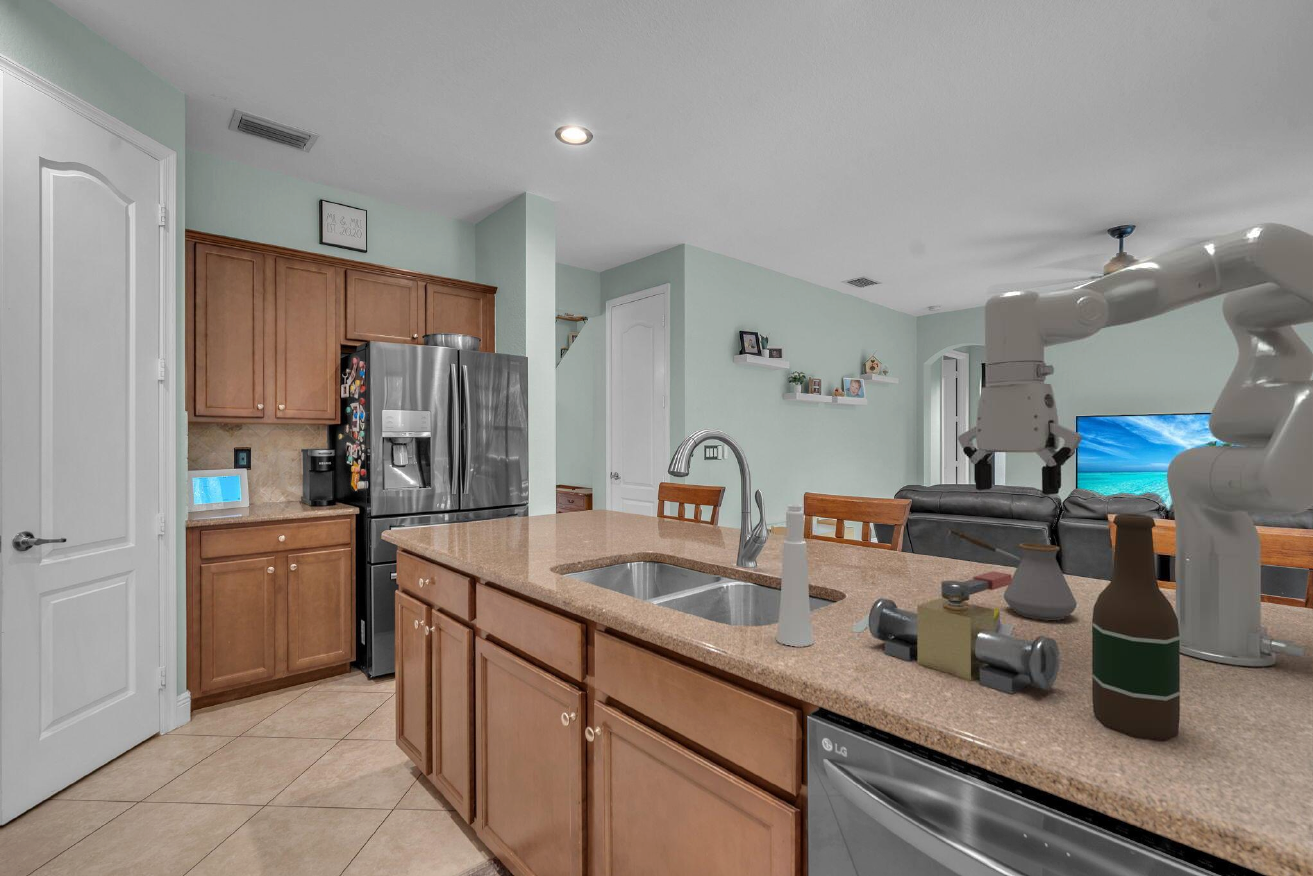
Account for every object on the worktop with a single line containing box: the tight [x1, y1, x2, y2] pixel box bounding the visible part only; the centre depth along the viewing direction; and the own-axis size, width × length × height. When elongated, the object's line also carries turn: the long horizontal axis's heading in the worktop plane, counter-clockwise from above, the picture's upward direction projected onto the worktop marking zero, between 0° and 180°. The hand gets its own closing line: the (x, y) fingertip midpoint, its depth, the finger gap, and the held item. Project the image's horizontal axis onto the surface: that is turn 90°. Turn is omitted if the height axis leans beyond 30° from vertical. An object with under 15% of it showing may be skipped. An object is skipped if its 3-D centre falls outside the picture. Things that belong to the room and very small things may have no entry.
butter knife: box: [850, 612, 870, 634], centre depth 112 cm, size 1×27×3 cm
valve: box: [868, 597, 1060, 695], centre depth 85 cm, size 24×7×10 cm, turn 37°
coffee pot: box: [946, 528, 1077, 621], centre depth 113 cm, size 21×12×15 cm, turn 61°
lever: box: [940, 571, 1012, 602], centre depth 89 cm, size 4×16×2 cm, turn 127°
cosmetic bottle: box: [775, 504, 815, 648], centre depth 96 cm, size 6×6×22 cm
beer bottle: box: [1091, 513, 1181, 742], centre depth 68 cm, size 8×8×24 cm
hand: (1015, 491), depth 89 cm, fingers open, 9 cm apart
